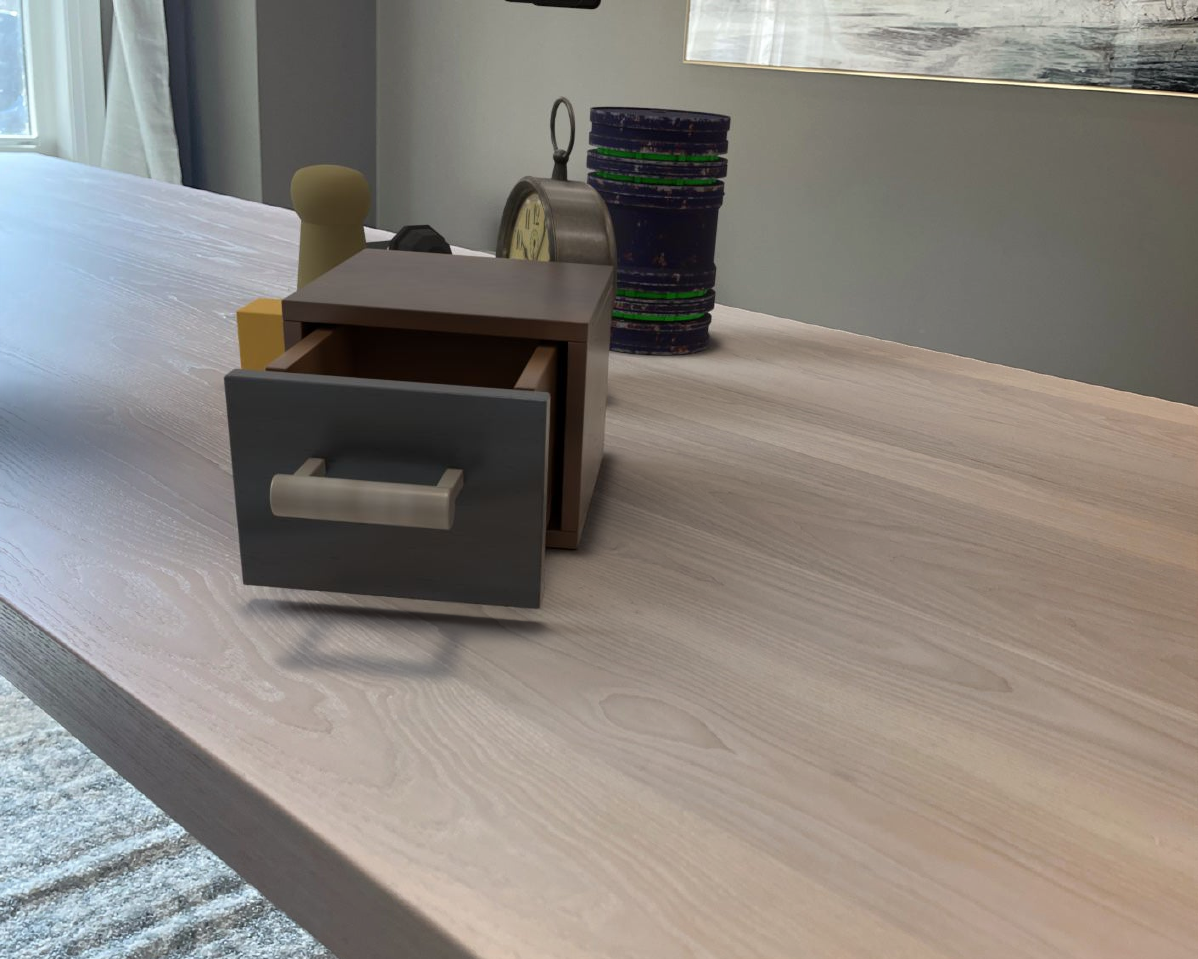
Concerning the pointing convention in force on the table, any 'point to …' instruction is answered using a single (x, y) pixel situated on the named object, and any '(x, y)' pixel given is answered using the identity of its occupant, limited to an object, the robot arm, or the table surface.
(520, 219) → the alarm clock
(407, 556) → the drawer
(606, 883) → the table surface
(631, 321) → the storage jar
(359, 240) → the cork
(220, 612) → the table surface
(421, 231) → the microphone
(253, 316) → the block
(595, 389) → the cabinet
